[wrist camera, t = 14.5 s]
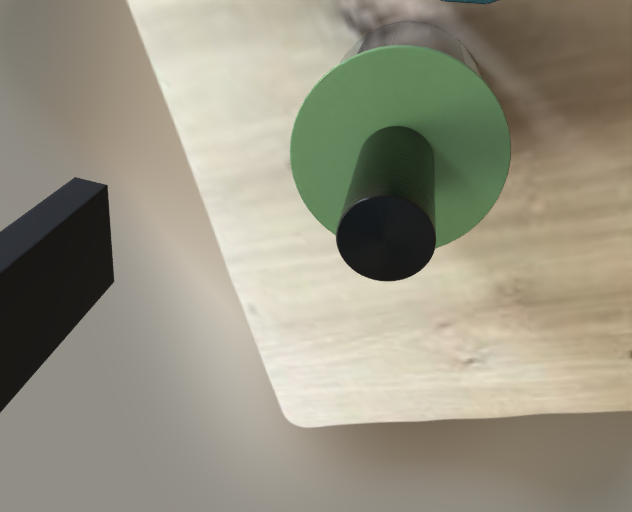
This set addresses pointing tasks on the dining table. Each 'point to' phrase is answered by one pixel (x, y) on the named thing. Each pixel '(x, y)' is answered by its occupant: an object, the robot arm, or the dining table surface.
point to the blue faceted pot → (473, 1)
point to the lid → (399, 156)
